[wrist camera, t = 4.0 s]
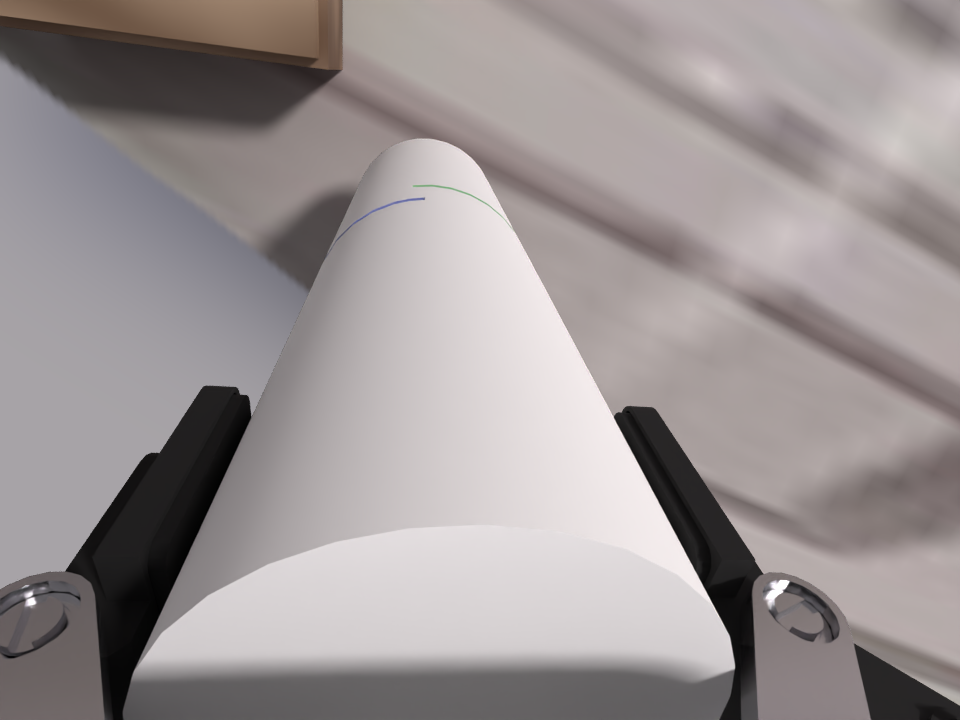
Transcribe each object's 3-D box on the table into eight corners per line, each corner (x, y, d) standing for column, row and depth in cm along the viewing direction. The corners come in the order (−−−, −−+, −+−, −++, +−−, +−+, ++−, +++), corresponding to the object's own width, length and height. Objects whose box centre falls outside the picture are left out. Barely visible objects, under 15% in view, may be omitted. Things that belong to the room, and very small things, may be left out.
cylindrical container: (335, 160, 26) (-41, 639, 5) (474, 121, 26) (734, 439, 5) (383, 290, 30) (289, 895, 8) (506, 256, 30) (735, 792, 8)
